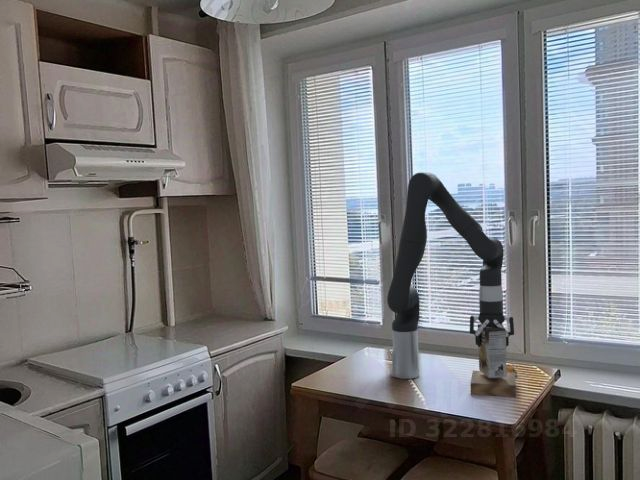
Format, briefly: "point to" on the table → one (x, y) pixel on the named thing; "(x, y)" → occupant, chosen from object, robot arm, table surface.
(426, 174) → the robot arm
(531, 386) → the table surface
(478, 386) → the plinth
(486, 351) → the coffee box
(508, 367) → the pastry
